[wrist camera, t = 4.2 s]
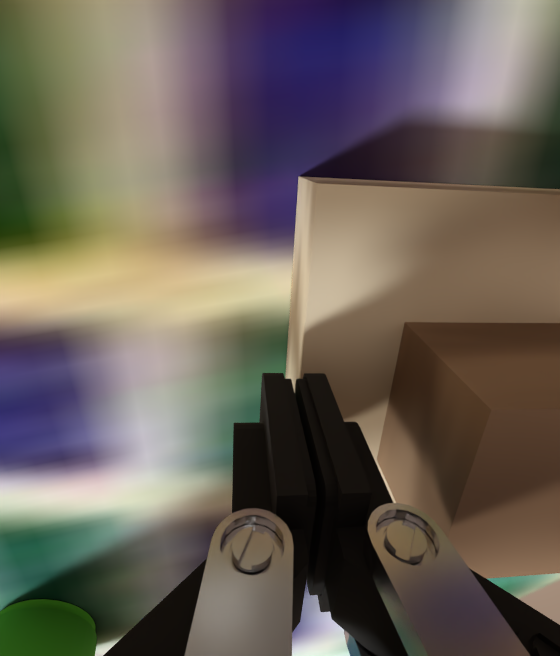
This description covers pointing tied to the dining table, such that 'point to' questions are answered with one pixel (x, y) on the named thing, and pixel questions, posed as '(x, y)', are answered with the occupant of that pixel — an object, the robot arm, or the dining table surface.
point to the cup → (46, 629)
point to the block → (480, 440)
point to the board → (410, 275)
